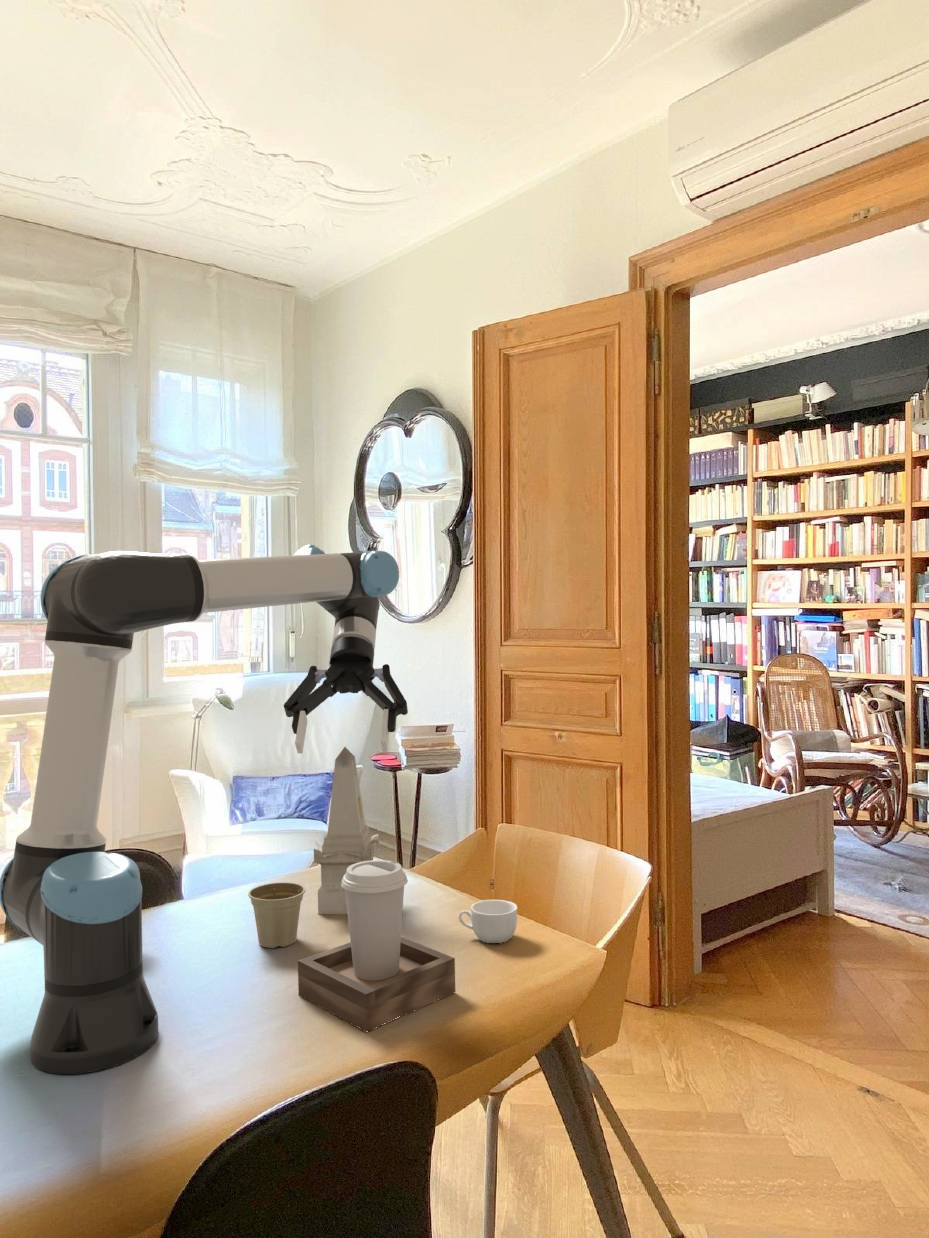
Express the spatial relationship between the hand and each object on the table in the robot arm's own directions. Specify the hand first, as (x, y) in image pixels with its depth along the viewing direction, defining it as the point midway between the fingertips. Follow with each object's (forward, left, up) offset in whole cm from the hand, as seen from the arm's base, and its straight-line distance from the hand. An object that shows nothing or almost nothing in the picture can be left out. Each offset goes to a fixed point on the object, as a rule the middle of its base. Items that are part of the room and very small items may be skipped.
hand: (341, 747), depth 136 cm
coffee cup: (-4, -13, -31) cm, 34 cm away
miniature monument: (+16, +21, -34) cm, 43 cm away
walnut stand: (-4, -13, -34) cm, 37 cm away
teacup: (+22, -10, -34) cm, 41 cm away
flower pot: (-3, +15, -34) cm, 37 cm away
